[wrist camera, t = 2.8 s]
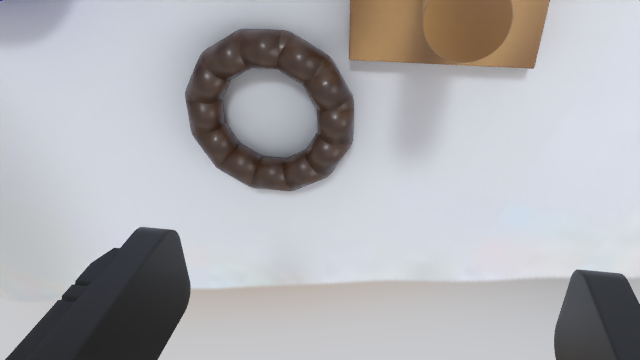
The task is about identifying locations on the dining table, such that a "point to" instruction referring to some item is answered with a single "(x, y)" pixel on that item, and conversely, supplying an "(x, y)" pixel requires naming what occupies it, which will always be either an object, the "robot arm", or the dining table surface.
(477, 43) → the post
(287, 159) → the ring
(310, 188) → the dining table surface
